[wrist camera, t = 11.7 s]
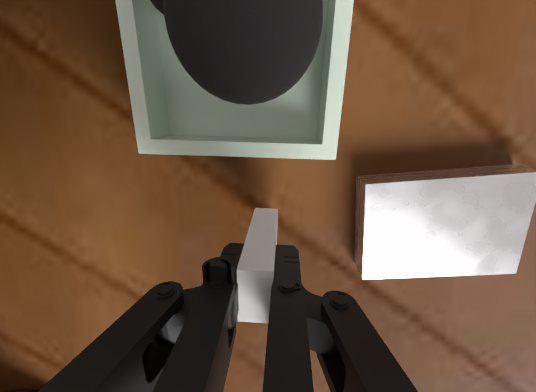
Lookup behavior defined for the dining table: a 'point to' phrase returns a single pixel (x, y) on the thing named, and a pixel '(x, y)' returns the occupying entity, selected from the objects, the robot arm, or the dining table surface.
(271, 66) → the light bulb
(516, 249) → the white stone flat block
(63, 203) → the dining table surface
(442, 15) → the dining table surface
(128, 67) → the tray
